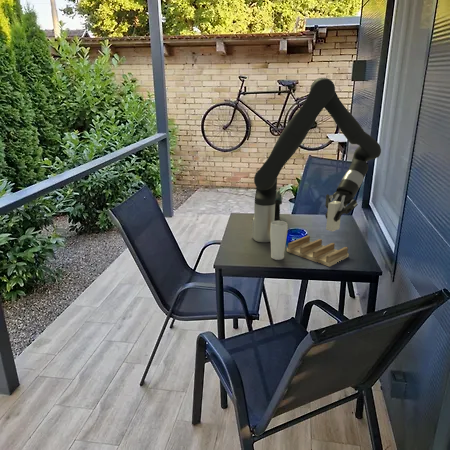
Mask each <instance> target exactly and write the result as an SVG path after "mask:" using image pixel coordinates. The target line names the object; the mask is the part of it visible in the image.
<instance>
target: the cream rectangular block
mask: <svg viewBox="0 0 450 450" xmlns="http://www.w3.org/2000/svg"><path fill="white" fill-rule="evenodd" d="M332 201H333V200H332ZM332 201H331V202H330V203H328V209H327V211H328V213H327V212H326V213H327V219H326V226H325V227H326V228H325V230H326V231H329V232H335V231H337V230H340V227H341V217H342V216H341V217H340V219H339V220H338V221H337V222H336V221H334V217H335V215H336V213H337V211H339V207H340V204H341V202H340V201H333V202H332Z"/></svg>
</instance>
